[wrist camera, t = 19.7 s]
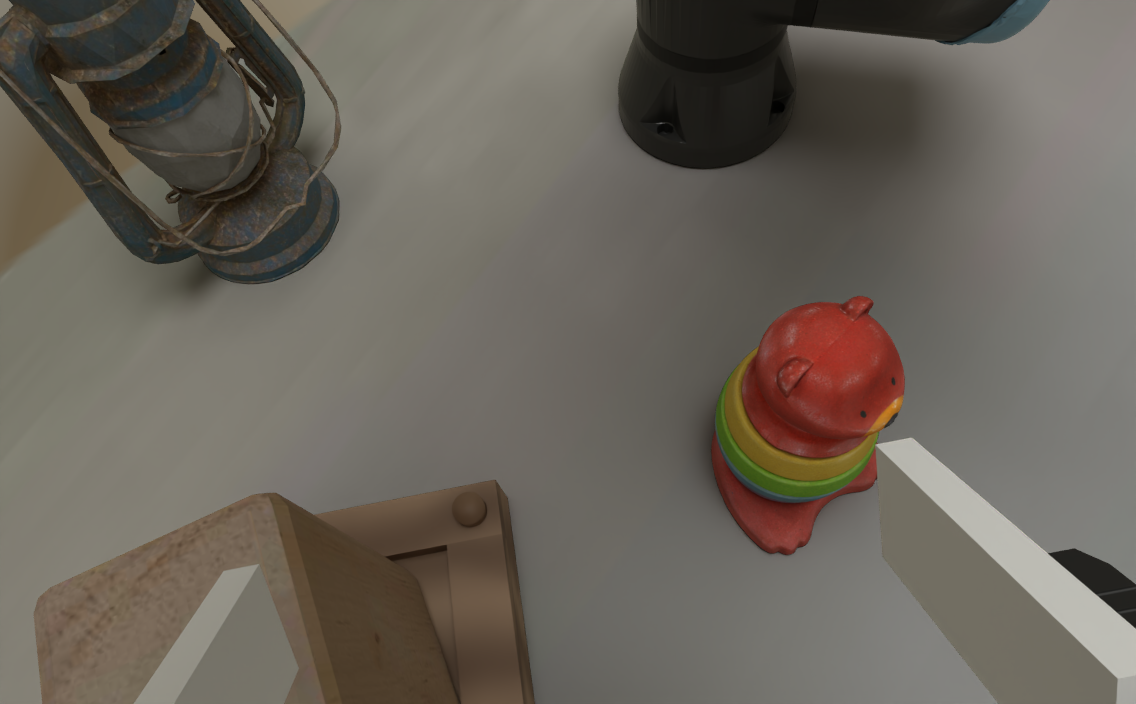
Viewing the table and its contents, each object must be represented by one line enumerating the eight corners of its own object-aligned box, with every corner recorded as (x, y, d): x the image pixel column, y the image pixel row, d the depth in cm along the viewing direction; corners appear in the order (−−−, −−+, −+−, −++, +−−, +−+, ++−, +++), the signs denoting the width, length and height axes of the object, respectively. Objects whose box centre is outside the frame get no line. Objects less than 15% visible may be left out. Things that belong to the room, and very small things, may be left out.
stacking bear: (777, 569, 47) (841, 496, 31) (672, 453, 51) (681, 335, 35) (895, 466, 49) (1010, 347, 33) (785, 362, 53) (841, 213, 37)
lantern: (282, 121, 69) (49, -251, 43) (404, 170, 65) (230, -209, 38) (141, 280, 63) (-239, -43, 36) (266, 346, 58) (-59, 36, 32)
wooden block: (473, 729, 42) (341, 739, 24) (308, 812, 41) (44, 889, 23) (416, 567, 46) (269, 476, 29) (267, 639, 45) (17, 591, 28)
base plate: (227, 552, 51) (182, 535, 46) (507, 498, 51) (492, 475, 46) (211, 900, 42) (153, 925, 37) (552, 836, 42) (539, 853, 37)
